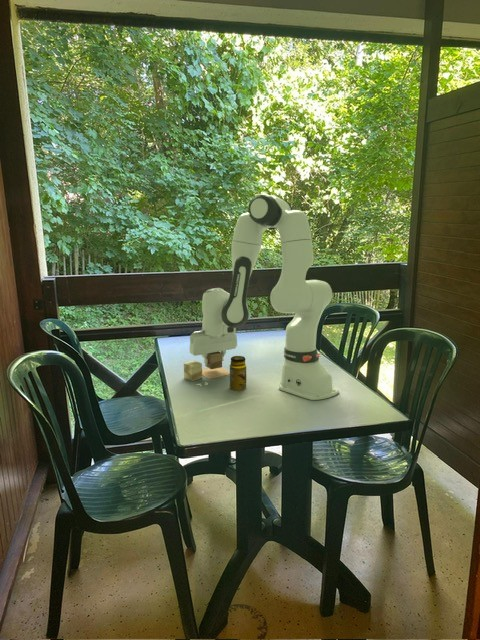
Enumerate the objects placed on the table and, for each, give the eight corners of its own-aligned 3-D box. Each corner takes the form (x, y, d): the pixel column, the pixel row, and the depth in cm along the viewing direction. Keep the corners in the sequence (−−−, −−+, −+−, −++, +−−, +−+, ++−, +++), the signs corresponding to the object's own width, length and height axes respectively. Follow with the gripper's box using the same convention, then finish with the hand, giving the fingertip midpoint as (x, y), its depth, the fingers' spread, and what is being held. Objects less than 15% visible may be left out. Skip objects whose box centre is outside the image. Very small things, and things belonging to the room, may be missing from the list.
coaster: (232, 374, 173) (232, 373, 173) (209, 380, 167) (208, 378, 167) (218, 367, 182) (218, 366, 182) (195, 372, 176) (195, 371, 176)
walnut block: (222, 367, 174) (222, 352, 173) (211, 369, 172) (211, 355, 170) (216, 363, 178) (215, 349, 177) (205, 366, 176) (205, 351, 174)
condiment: (249, 391, 156) (249, 359, 153) (226, 393, 154) (225, 361, 151) (244, 384, 163) (244, 353, 160) (222, 386, 161) (222, 355, 158)
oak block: (202, 378, 168) (201, 363, 167) (192, 381, 165) (191, 366, 164) (194, 375, 172) (193, 360, 171) (184, 378, 168) (183, 363, 167)
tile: (216, 386, 161) (216, 385, 161) (199, 389, 157) (199, 388, 157) (206, 380, 167) (206, 379, 167) (190, 384, 163) (190, 383, 163)
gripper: (193, 334, 163) (194, 369, 166) (239, 327, 174) (239, 360, 177) (186, 330, 168) (187, 364, 171) (230, 324, 179) (231, 356, 182)
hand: (214, 362), depth 174 cm, fingers closed on walnut block, 5 cm apart
